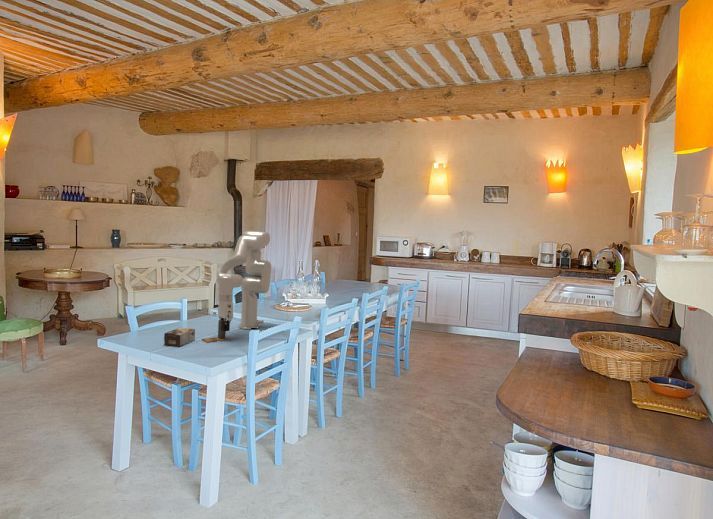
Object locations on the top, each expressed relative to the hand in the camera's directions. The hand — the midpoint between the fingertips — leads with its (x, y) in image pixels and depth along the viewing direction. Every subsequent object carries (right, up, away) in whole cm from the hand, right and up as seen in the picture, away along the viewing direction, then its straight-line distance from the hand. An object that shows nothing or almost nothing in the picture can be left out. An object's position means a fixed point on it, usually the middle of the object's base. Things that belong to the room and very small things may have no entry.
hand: (224, 329), depth 278 cm
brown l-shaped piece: (-5, -6, -3) cm, 8 cm away
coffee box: (-19, -1, -4) cm, 19 cm away
